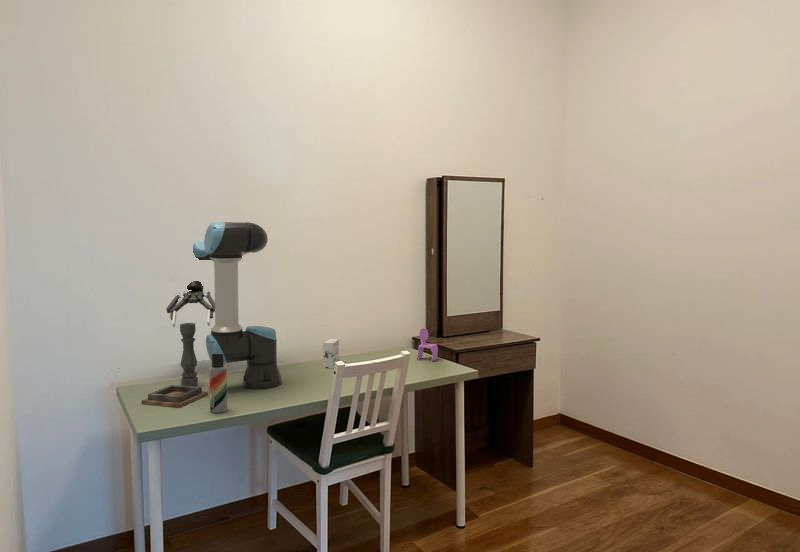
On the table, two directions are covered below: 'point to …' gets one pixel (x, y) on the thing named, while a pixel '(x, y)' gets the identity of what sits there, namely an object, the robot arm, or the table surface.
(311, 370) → the table surface
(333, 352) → the ink box
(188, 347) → the candle holder
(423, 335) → the toy chair
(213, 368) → the lotion bottle
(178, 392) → the socket plate
